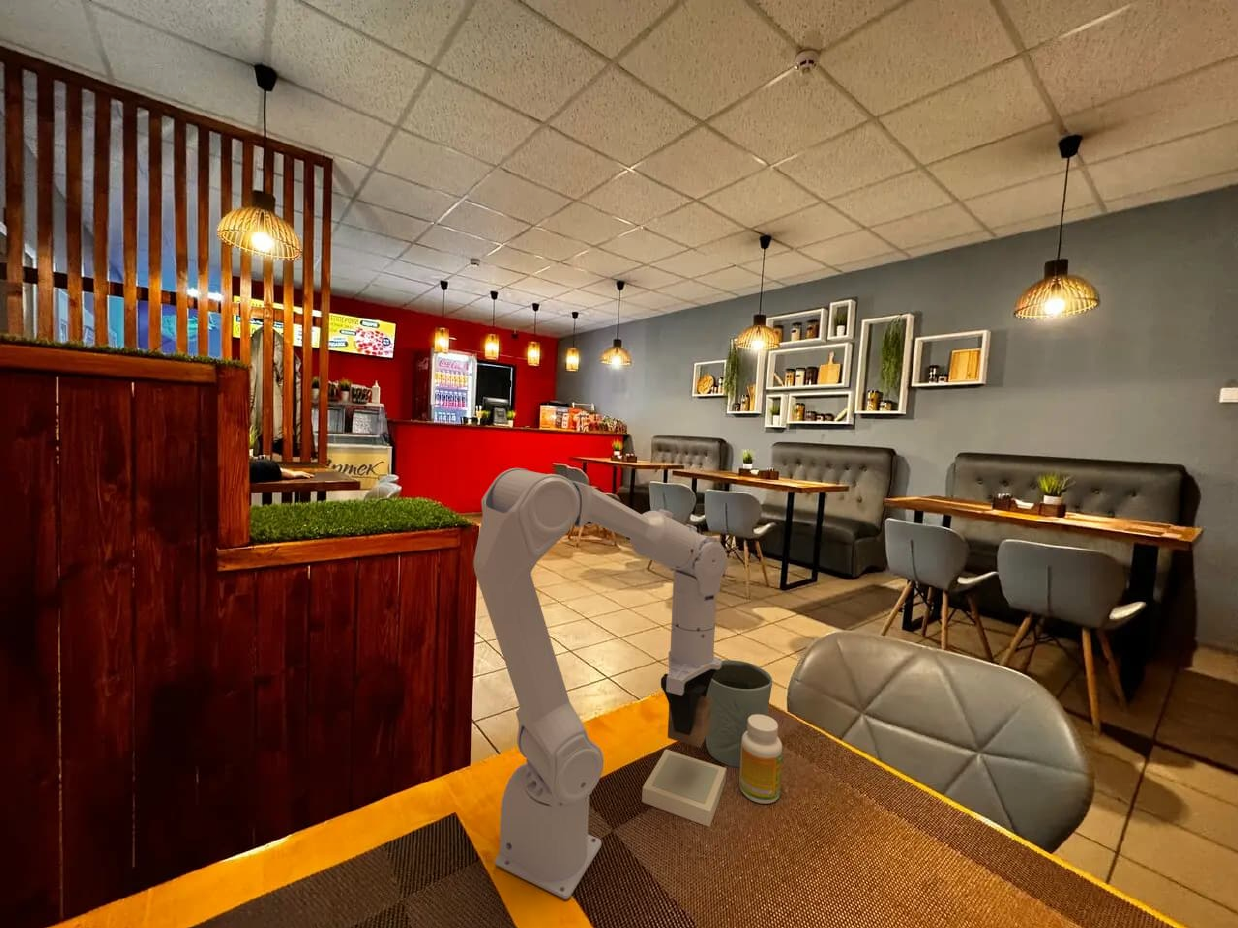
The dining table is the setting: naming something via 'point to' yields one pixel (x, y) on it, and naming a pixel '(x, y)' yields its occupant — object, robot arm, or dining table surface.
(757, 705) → the green plant pot
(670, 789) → the tile base
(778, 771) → the supplement bottle
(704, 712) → the walnut block
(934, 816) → the dining table surface
